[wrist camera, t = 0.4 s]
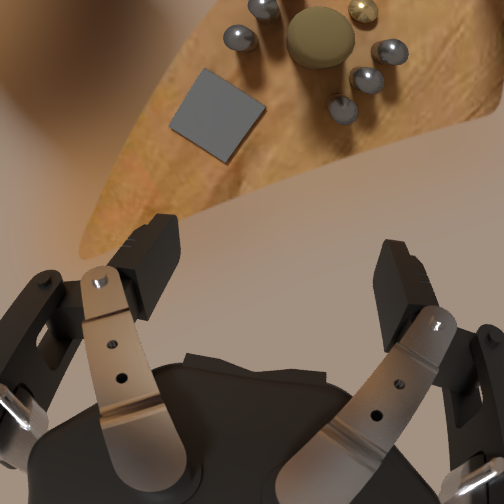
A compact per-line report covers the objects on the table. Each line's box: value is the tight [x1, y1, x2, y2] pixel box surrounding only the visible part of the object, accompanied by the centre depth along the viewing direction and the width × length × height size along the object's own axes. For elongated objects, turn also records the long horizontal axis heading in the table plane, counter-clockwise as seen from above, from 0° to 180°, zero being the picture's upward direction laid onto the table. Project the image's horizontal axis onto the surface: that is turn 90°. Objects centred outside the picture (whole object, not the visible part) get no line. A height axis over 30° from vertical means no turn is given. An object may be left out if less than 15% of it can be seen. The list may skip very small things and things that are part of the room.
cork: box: [286, 7, 355, 70], centre depth 23 cm, size 6×6×11 cm
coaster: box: [169, 68, 266, 163], centre depth 33 cm, size 8×8×1 cm
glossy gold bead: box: [348, 0, 378, 23], centre depth 24 cm, size 3×3×1 cm
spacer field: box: [223, 0, 409, 125], centre depth 26 cm, size 11×15×5 cm
